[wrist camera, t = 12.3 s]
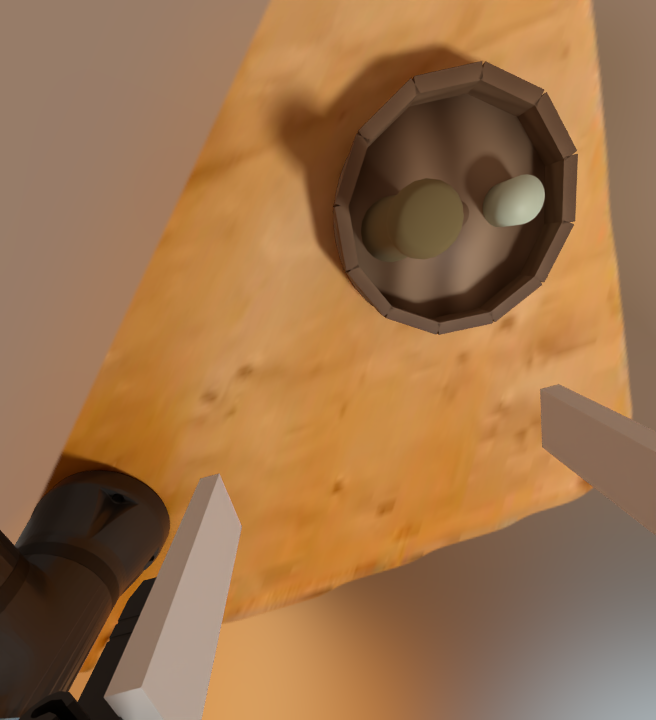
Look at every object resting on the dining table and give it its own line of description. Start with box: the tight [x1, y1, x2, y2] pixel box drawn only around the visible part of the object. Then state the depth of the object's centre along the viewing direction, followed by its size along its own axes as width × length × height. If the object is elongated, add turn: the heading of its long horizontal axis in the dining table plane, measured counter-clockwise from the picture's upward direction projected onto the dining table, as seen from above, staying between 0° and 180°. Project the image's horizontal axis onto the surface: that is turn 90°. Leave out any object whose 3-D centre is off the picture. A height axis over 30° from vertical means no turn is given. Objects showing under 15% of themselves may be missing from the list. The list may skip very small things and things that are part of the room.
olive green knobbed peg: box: [361, 178, 464, 262], centre depth 26 cm, size 6×6×11 cm
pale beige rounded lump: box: [483, 175, 545, 227], centre depth 30 cm, size 4×4×3 cm
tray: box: [333, 61, 578, 335], centre depth 31 cm, size 22×22×3 cm
